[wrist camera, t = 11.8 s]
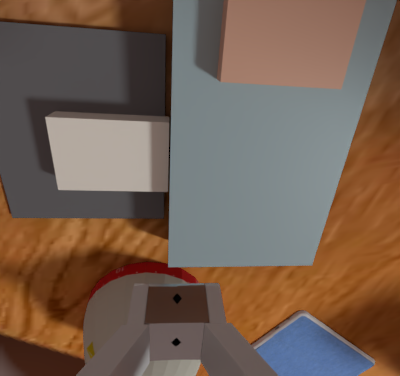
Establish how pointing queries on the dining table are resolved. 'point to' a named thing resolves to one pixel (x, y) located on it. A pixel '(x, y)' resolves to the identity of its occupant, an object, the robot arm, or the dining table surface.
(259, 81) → the terracotta card
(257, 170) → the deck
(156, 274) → the kitchen timer
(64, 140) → the cream card
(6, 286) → the dining table surface
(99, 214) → the mat
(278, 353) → the tablet computer
